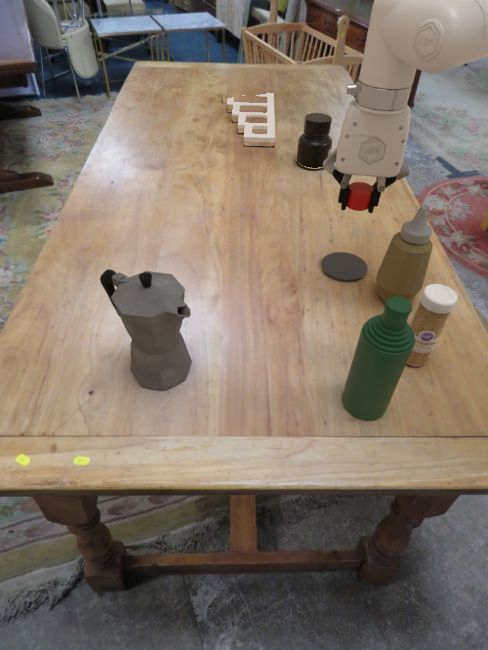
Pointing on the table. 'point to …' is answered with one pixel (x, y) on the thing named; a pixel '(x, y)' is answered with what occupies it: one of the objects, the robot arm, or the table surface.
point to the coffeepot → (152, 325)
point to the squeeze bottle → (406, 259)
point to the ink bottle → (315, 140)
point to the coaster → (344, 267)
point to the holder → (249, 126)
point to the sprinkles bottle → (430, 321)
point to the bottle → (379, 360)
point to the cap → (359, 196)
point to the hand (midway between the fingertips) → (356, 206)
